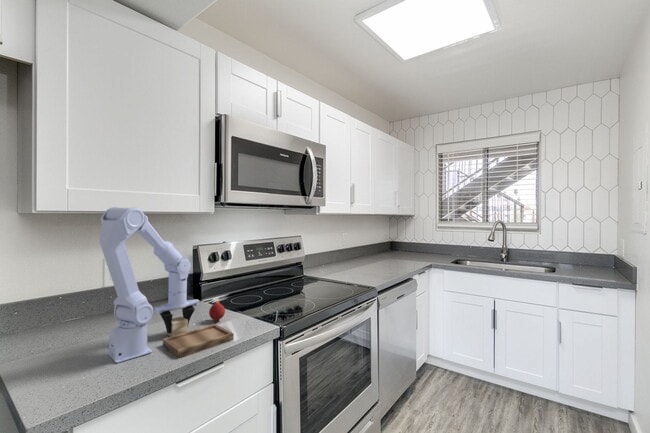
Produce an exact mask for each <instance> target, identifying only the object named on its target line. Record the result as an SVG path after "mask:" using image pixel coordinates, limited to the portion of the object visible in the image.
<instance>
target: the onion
mask: <svg viewBox="0 0 650 433" xmlns="http://www.w3.org/2000/svg"><path fill="white" fill-rule="evenodd" d="M225 313H226V309H225V307H224V305H223V304H221V303H220V301H219V300H216V302H215V303H214V304H212V305H211V307H210V308H209V310H208V315H209V317H210V319H211V320H213V321H215V322H218V321H220V320H221V319H222V318H223V317H224V315H225Z"/></svg>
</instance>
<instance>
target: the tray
mask: <svg viewBox="0 0 650 433" xmlns="http://www.w3.org/2000/svg"><path fill="white" fill-rule="evenodd" d="M231 340H232V341H234V332H231V331H229V330H228V329H225V328H223V327H222V326H220V325H218V324H212V325H208V326H205V327H200V328H196V329H194V330H190V331H188V332H186V333H182V334H179V335H175V336H172V337H170V336H168V337H165V338H163V339H162V346H163V347H164V348H165V349H166V350H168V351H169V352H170V353H172V354H173V355H174V356H176V357H177V358H178V359H180V358H184V357H187V356H191V355H193V354H195V353H198V352H199V353H200V352H202V351H205V350H208V349H210V348H213V347H216V346H219V345H223V344H225V343H226V344H227V343H228V342H232V341H231Z"/></svg>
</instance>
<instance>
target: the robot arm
mask: <svg viewBox="0 0 650 433" xmlns="http://www.w3.org/2000/svg"><path fill="white" fill-rule="evenodd" d="M100 221H101V229H100V235H99V244H100V247H101V250H102V253H103V256H104V259H105V262H106V266H107V269H108V271H109V275H110V278H111V281H112V283H113V286H114V290H115V293H116V296H117V297H116V298H115V299H114V300H113V305H114V310H113V316H114V318H115V320H118V326H116V327H114V328H111V329H110V330H109V334H108V336H109V337H108V338H109V340H108V341H109V342H108V344H109V345H108V346H109V348H108V349H109V351H108V356H109V357H110V358H111V359H112V360H113V361H114V363H116V364H119V363H122V362H125V361H129V360H132V359H134V358H135V359H136V358H139V357H142V356H144V355H145V356H146V355H149V354H151V353H153V350H152V349H151V348H150V347H149V346H148V324H149V322H150V321H151V319H152V317H153V315H154V314H155V315H156V316H157V315H160V317H161V318H162V321H163V323H164V326H165V329H166V333H167V332H168V333H171V322H172V319H173V316H174V315H173V314H172V313H171V312H172V311H176V310H182V317H184V318H185V319H187V320H188V325H189V324H190V320H191V318H192V316H193V314H194V312H195V309H196V307H197V306H199V305H200V300H199V299H188V300H187V296H188V295H187V290H188V281H187V280H188V277H189V272H190V270H191V268H192V264H191V262H190V260H189V259H188V258H187V257H184V256H182V253H181V252H179V251H178V250H177V249H176V248H175V247H174V245H175V244H174V243H173V242H170V241H167V240H164V239H163V238H162V237H161V236H160V235H159V233H158V232H157V230H156V229H155V228H154V226H153V225H151V223H150V222H149V217H148V216H147V215H146V214H144V211H142V209H140V208H138V207H133V206H132V207H119V206H118V207H117V206H112V207H109V208H107V210H105V212H104V213H103V214H102V216H101V217H100ZM135 232H136V233H138V234H139V236H141V237H142V238H143V239H144V240H145V241H146V242H147V243H148V244H149V245H150V246H152V248H153V254H154V255H155V256H156V257H157V258H158V259H159V260H160V261H161V262H162V263H163V266H164V270H165V271H166V272H168V303H166V304H162V305H160V306H156V307H153V306H152V304H151V303H149V302H148V299H147V297H146V296H145V295H144V294H143V293H142V292H141V291H140V289H139V286H138V282H137V279H136V276H135V273H134V270H133V266H132V263H131V260H130V257H129V254H128V249H127V246H126V241H127V240H128V238H130V237H131V236H132V235H133V234H135ZM194 306H195V307H194Z"/></svg>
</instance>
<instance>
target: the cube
mask: <svg viewBox="0 0 650 433" xmlns="http://www.w3.org/2000/svg"><path fill="white" fill-rule="evenodd" d="M188 327H189V324H188V320H187V319H185V318H184V317H183V315H182V316H177V317H172V322H171V333H168V332H167V331H166V335H167V336H168V337H172V336H175V335H179V334H182V333H186V332H189V330H188Z"/></svg>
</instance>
